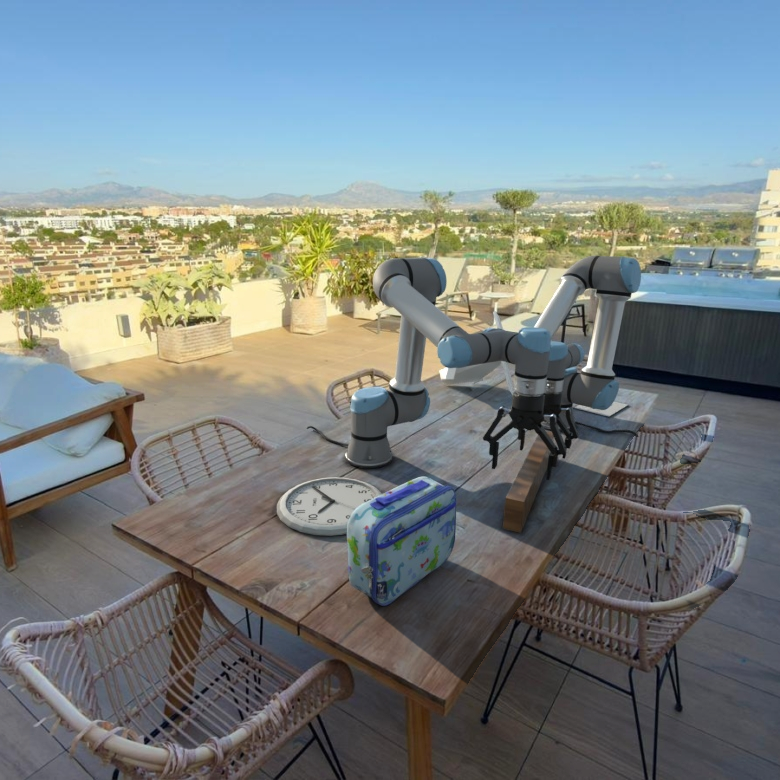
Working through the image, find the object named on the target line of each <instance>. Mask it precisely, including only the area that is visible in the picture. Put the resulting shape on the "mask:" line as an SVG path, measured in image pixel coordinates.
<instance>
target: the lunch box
mask: <svg viewBox="0 0 780 780" xmlns="http://www.w3.org/2000/svg"><path fill="white" fill-rule="evenodd" d="M456 524H457V494H456V490H455V488H454V487H453V486H451V485H444V484H441V483H440V482H438V481H436V480H434V479H432V478H431V477H428V476H422V475H421V476H419V477H416V478H413V479H411V480H408V481H407V482H404V483H402V484H400V485H398V486H396V487H394V488H392V489H390V490H388V491H386V492H383V494H381V495H380V496H378V497H376V498H374V499H372V500H370V501H368V502H365V503H363V504H362V505H360V506H358V507H357V508H356V509H355V510H354V511H353V513H352V514H351V516H350V518H349V521H348V525H347V534H346V545H347V546H346V548H347V570H348V572H347V573H348V581H349V583H350V585H351V587H353V588H354V589H356V590H358V591H361V592H362V593H364V594H365V595H366V596H368V597H369V598H371V599H372V601H373V602H374V603H375V604H378V605H379V606H383V607H386V606H388V605H390V604H392V603H394V601H396V600H397V599H398V598H399V597H400V596H402V595H403V594H404V593H406V592H407V591H408V590H410V589H411V588H413V587H414V586H415V585H417V584H418V583H419V582H421V580H422V579H424V577H426V576H427V575H430V573H432V572H434V571H435V570H436V569H438V568H440V567H441V566H442V565H444V563H446V562H447V561H448V559H449V558H450V556H451V554H452V552H453V549H454V546H455V542H456V529H457V525H456Z"/></svg>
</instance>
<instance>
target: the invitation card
mask: <svg viewBox="0 0 780 780" xmlns="http://www.w3.org/2000/svg"><path fill="white" fill-rule="evenodd" d="M628 406H629V404H627V403H623V402H618V401H614V402H613V404H612V405H611V406H610V407H609V408H608V409H606V410H599V409H592V408H590V407H586V406H582V405H578V404H577V405H575V406H574V407H573V409H575V410H581V411H584V412H587V413H593V414H596V415H600V416H604V417H608V418H609V417H611V416H613V415H614V414H616V413H617V412H619V411H621V410H623V409H624V408H626V407H628Z"/></svg>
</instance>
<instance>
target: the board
mask: <svg viewBox="0 0 780 780" xmlns="http://www.w3.org/2000/svg"><path fill="white" fill-rule="evenodd" d="M545 431H546V432H547V434H548V435H549V436H550V438H551V439H552V441H553V442H554V441H555V438H554V436H553V433H552V431H547V430H545ZM549 454H550V450H549V449H548V447H547V446H546V445H545V443H544V442H543V440H542V439H541V438H540V436H539V435H538V434H537V435H536V438H535V440H534V441H533V443H532V445H531V447H530V449H529V451H528V453H527V455H526V457H525V458H524V461H523V462H522V464H521V466H520V469H519V471H518V472H517V475H516V476H515V478H514V480H513V481H512V484H511V485H510V488H509V490H508V492H507V494H506V496H505V500H504V511H503V520H502V530H503V529H504V530H507V531H511V532H515V533H520V534H522V531H523V529H524V527H525V523H526V521H527V519H528V516H529V514H530V512H531V509H532V506H533V504H534V501H535V499H536V496H537V494H538V492H539V489H540V486H541V484H542V481H543V479H544V477H545V475H546V473H547V467H548V459H549Z"/></svg>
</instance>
